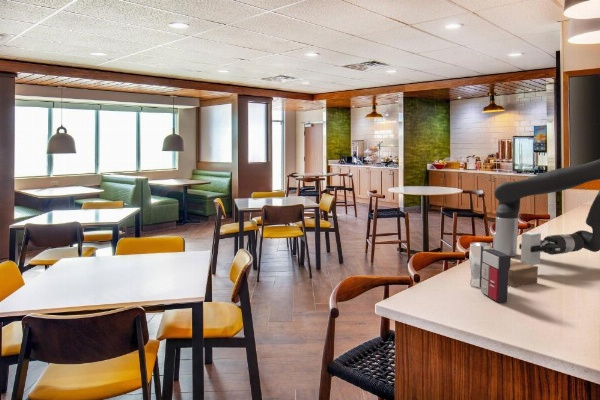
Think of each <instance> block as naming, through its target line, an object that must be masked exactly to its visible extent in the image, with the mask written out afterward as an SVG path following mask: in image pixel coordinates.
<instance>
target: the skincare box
mask: <svg viewBox="0 0 600 400" xmlns="http://www.w3.org/2000/svg"><path fill="white" fill-rule="evenodd" d="M541 237H542V233H540V232H536V231H535V232H534V231H529V232H528V231H527V232H523V233H521V243H520V244H521V249H520V251H521V252H520V262H521V263H525V264H529V265H533V266H537V265H540V264H541V252H530V247H531V246H539V245H540V244H541V240H542V239H541Z"/></svg>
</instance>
